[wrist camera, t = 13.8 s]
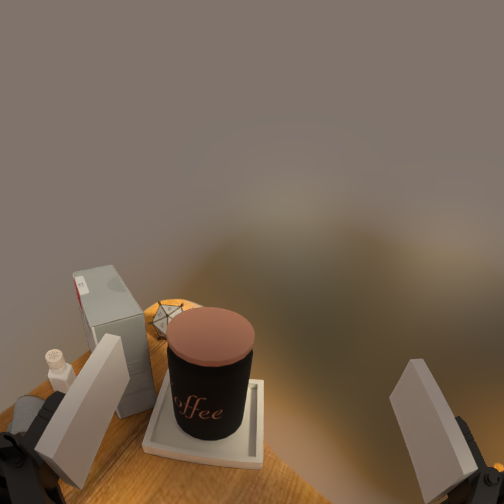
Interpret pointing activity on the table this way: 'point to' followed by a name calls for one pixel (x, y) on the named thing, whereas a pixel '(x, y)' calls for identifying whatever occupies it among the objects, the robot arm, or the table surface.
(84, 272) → the hard drive box
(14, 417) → the ceramic mug
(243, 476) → the table surface
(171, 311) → the game die
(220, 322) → the coffee jar
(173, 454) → the tray
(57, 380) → the pepper shaker
